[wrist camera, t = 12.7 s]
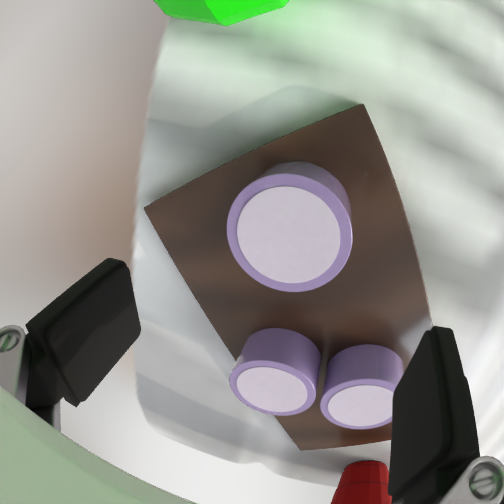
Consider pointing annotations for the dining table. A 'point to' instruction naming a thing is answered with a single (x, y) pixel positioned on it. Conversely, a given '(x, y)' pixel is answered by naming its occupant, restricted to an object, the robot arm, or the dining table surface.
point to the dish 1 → (291, 227)
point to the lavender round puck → (361, 386)
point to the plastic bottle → (218, 9)
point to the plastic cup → (363, 484)
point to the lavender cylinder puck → (277, 372)
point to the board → (319, 299)
